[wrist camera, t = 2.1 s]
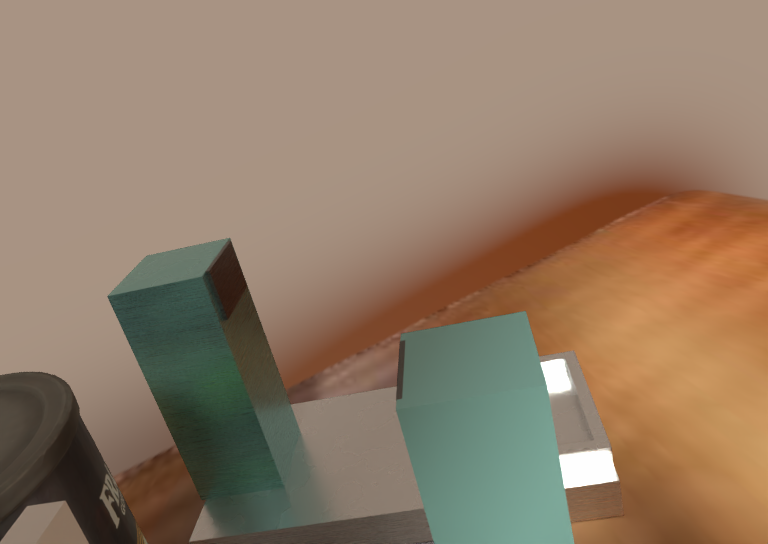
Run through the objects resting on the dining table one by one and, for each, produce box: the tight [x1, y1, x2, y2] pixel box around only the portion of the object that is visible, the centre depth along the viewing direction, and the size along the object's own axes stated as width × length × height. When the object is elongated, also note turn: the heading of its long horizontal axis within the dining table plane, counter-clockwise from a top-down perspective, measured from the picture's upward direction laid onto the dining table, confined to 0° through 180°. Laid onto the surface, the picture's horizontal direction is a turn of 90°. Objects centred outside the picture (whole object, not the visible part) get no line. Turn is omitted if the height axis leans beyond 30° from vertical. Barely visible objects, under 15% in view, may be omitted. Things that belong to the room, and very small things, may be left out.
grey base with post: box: [108, 238, 624, 544], centre depth 32 cm, size 20×10×14 cm, turn 88°
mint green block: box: [396, 311, 574, 544], centre depth 24 cm, size 4×4×12 cm
